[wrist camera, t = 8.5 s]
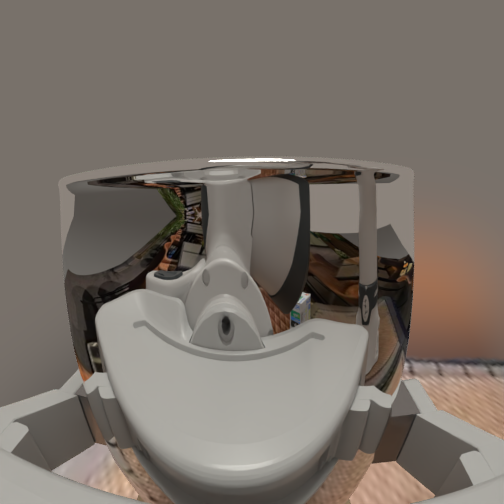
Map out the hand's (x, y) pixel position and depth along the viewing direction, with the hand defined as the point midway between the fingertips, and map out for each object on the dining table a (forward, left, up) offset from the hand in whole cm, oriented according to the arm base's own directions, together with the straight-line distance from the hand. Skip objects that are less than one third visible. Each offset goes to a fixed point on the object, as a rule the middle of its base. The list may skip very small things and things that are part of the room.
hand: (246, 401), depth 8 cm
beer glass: (0, +1, -9) cm, 9 cm away
